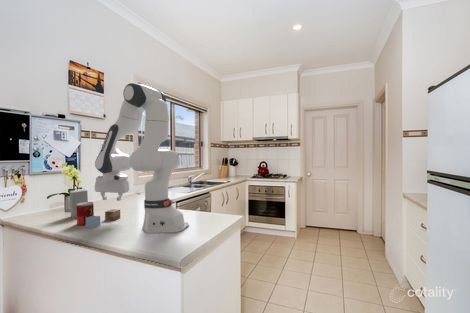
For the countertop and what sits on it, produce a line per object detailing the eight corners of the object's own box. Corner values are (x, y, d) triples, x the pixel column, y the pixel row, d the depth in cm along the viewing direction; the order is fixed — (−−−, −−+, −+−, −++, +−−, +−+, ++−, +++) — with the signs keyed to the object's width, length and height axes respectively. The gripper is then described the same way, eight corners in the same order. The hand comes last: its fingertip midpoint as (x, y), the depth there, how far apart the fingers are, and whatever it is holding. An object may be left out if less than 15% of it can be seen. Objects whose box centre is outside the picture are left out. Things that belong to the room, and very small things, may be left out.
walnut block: (120, 218, 134) (120, 209, 134) (113, 220, 128) (113, 211, 128) (112, 217, 135) (112, 209, 135) (105, 220, 129) (104, 211, 129)
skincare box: (85, 213, 145) (85, 188, 145) (88, 215, 140) (88, 189, 140) (69, 216, 139) (69, 190, 139) (72, 218, 134) (71, 191, 134)
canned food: (85, 226, 119) (85, 205, 119) (72, 225, 120) (72, 204, 120) (97, 221, 126) (96, 201, 126) (85, 221, 128) (84, 201, 128)
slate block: (100, 225, 120) (100, 216, 119) (93, 228, 115) (93, 218, 115) (93, 225, 120) (92, 215, 120) (85, 227, 116) (85, 218, 116)
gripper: (91, 176, 130) (91, 200, 131) (123, 177, 126) (123, 202, 127) (100, 175, 137) (100, 198, 137) (130, 176, 132) (130, 199, 133)
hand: (111, 200), depth 132 cm, fingers open, 8 cm apart
